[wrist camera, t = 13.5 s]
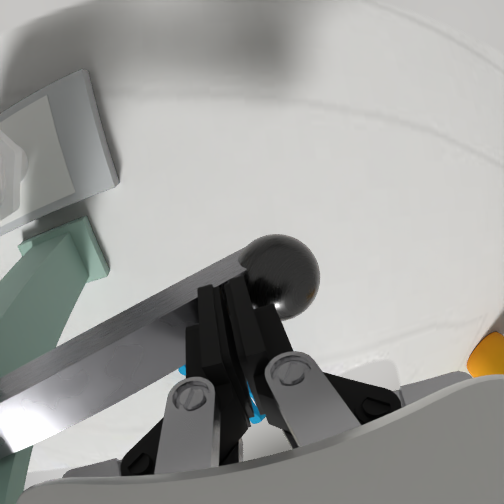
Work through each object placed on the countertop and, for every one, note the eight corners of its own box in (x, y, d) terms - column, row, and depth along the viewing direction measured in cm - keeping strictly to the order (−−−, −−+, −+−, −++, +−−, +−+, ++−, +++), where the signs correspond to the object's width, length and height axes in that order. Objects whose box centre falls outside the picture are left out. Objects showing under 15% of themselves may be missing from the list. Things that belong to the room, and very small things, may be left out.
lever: (-34, 452, 7) (-32, 507, 4) (-81, 404, 5) (-93, 460, 3) (287, 279, 16) (340, 305, 13) (274, 214, 14) (333, 231, 11)
